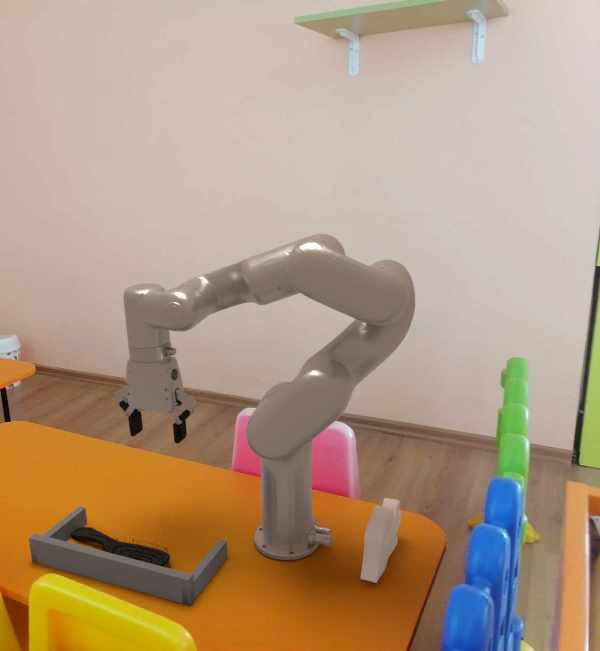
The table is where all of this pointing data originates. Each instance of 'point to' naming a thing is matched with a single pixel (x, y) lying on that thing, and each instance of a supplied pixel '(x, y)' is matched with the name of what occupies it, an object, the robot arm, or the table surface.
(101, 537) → the hairbrush
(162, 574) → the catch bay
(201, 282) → the robot arm
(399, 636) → the table surface
